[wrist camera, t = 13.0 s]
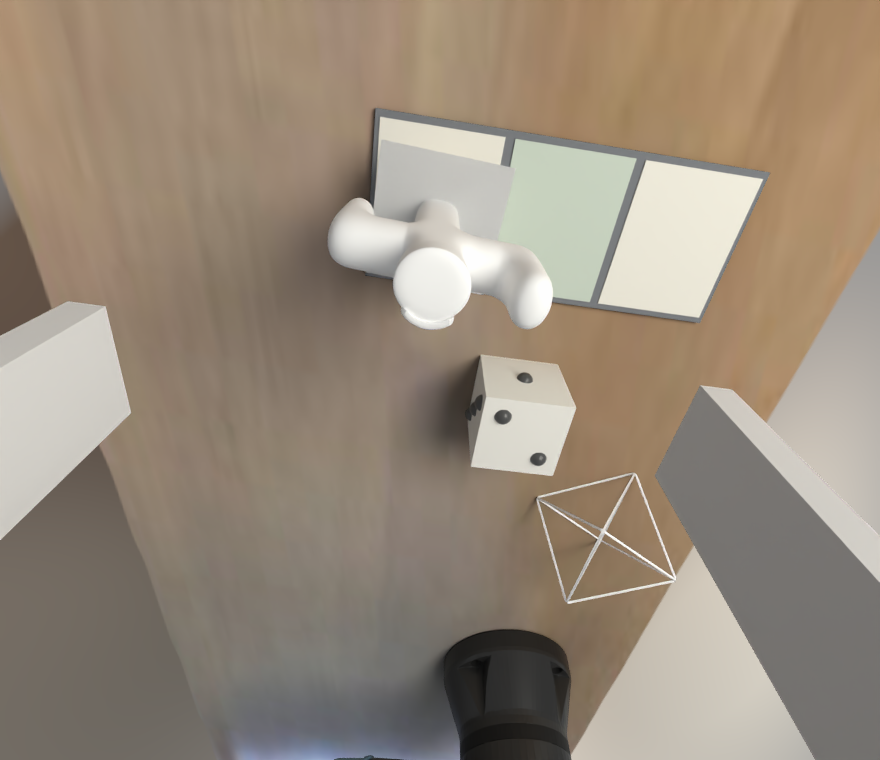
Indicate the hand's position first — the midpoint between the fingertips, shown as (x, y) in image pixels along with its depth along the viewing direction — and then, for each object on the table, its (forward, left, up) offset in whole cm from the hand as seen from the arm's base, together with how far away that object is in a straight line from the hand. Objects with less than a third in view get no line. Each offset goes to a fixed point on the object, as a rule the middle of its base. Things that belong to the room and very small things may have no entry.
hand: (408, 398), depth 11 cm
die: (-13, -8, -22) cm, 27 cm away
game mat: (0, -8, -22) cm, 24 cm away
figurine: (0, 0, -22) cm, 22 cm away
